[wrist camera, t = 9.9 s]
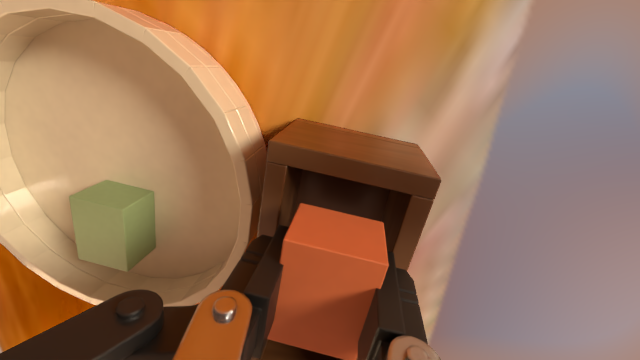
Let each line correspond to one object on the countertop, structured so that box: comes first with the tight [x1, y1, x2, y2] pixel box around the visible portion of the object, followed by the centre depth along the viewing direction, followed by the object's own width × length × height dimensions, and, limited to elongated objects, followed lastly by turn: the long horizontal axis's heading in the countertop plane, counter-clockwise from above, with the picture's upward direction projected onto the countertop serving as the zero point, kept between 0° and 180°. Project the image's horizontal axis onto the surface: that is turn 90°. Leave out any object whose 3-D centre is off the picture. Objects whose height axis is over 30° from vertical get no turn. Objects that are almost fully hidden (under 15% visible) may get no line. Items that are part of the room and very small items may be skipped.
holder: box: [251, 118, 441, 360], centre depth 15 cm, size 14×6×5 cm, turn 169°
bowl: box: [0, 0, 267, 307], centre depth 16 cm, size 16×16×3 cm
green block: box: [69, 180, 156, 272], centre depth 17 cm, size 4×3×2 cm
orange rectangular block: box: [267, 203, 389, 360], centre depth 10 cm, size 4×3×2 cm
